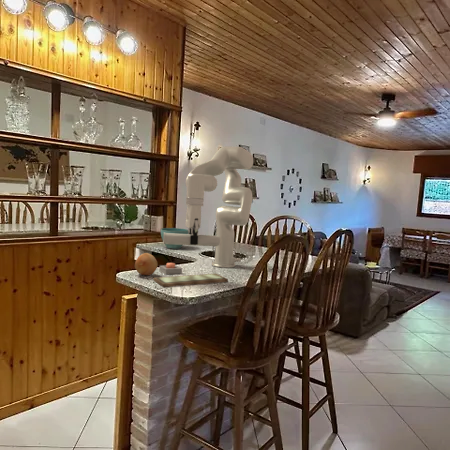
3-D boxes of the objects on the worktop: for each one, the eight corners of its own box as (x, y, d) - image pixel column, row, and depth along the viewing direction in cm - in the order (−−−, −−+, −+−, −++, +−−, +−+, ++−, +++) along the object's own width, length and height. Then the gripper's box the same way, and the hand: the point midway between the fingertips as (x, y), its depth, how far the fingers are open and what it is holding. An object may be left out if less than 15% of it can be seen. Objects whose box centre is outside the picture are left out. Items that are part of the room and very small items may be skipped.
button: (172, 268, 180) (173, 262, 180) (176, 270, 177) (176, 264, 177) (164, 269, 178) (165, 263, 178) (168, 271, 175) (168, 264, 175)
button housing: (174, 269, 183) (175, 264, 183) (181, 273, 176) (182, 268, 176) (159, 270, 179) (159, 265, 179) (165, 274, 172) (165, 269, 172)
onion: (158, 277, 165) (159, 255, 164) (134, 278, 163) (135, 255, 162) (156, 272, 174) (157, 251, 174) (134, 272, 172) (134, 251, 171)
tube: (219, 236, 172) (163, 233, 167) (221, 234, 167) (164, 231, 162) (219, 248, 170) (162, 245, 165) (221, 246, 165) (163, 243, 160)
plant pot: (155, 248, 241) (156, 229, 240) (166, 244, 259) (166, 227, 258) (182, 251, 237) (183, 231, 236) (191, 247, 255) (192, 229, 254)
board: (215, 276, 175) (215, 273, 175) (227, 281, 166) (227, 278, 166) (153, 280, 160) (153, 277, 160) (163, 287, 151) (163, 283, 150)
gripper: (182, 201, 172) (180, 240, 173) (190, 202, 155) (187, 246, 157) (198, 202, 174) (196, 241, 175) (208, 203, 158) (205, 246, 159)
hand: (192, 243), depth 166 cm, fingers closed on tube, 5 cm apart
